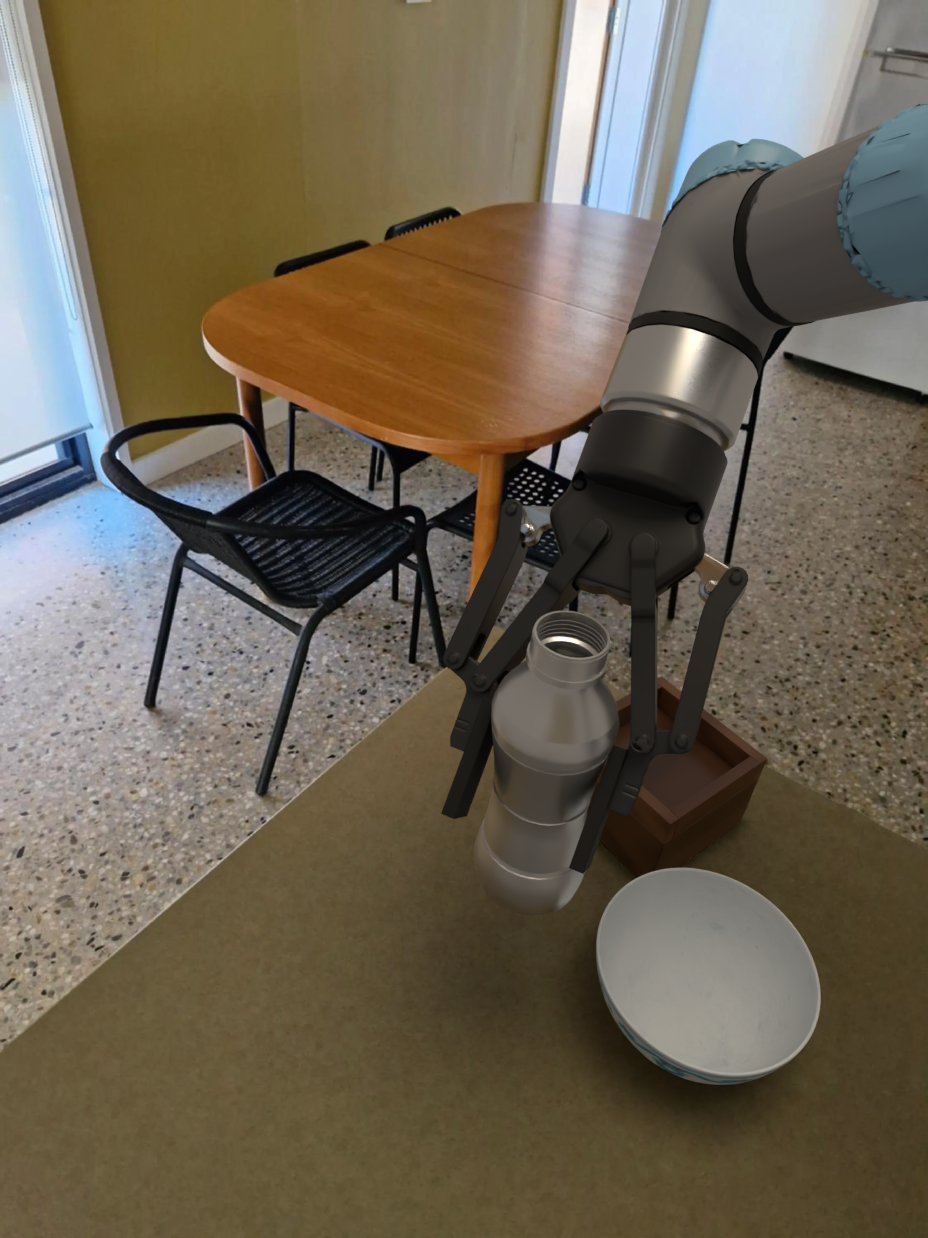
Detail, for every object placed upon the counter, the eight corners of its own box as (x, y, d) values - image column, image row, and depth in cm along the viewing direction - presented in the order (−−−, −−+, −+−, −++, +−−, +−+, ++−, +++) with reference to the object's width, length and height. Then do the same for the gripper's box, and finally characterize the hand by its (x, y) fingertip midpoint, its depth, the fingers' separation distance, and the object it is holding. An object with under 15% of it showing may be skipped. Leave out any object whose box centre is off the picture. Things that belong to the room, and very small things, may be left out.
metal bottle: (549, 951, 51) (610, 704, 38) (449, 894, 53) (475, 643, 41) (595, 871, 55) (664, 626, 43) (501, 821, 58) (540, 575, 45)
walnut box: (740, 822, 79) (767, 758, 74) (648, 889, 73) (670, 824, 68) (643, 739, 86) (661, 675, 81) (552, 794, 80) (565, 729, 75)
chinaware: (593, 1126, 59) (614, 1074, 54) (569, 922, 70) (584, 864, 65) (814, 1128, 60) (854, 1077, 55) (754, 927, 71) (782, 869, 66)
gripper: (836, 503, 49) (697, 906, 47) (511, 415, 54) (378, 772, 53) (859, 458, 41) (696, 931, 40) (482, 362, 47) (327, 773, 46)
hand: (515, 840), depth 46 cm, fingers closed on metal bottle, 6 cm apart
